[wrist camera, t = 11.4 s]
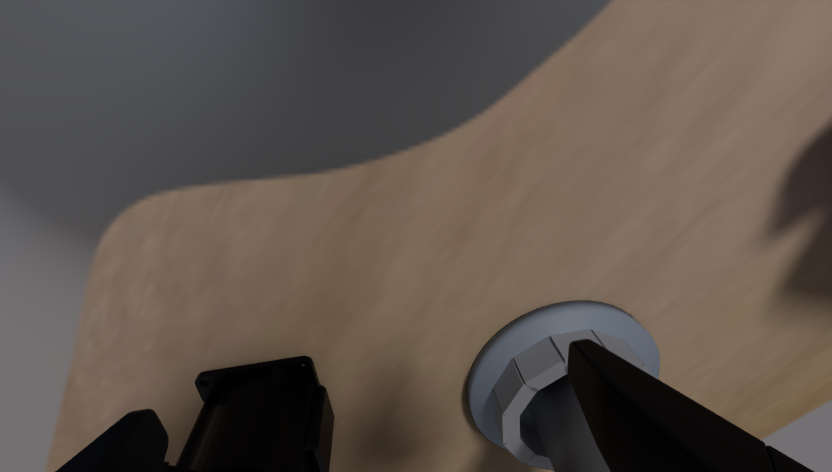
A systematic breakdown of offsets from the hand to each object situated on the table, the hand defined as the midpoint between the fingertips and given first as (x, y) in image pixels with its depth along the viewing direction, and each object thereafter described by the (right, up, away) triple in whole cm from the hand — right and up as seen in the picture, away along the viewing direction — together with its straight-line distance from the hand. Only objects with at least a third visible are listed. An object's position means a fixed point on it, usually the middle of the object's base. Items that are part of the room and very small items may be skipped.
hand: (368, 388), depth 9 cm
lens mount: (+10, -6, +17) cm, 21 cm away
